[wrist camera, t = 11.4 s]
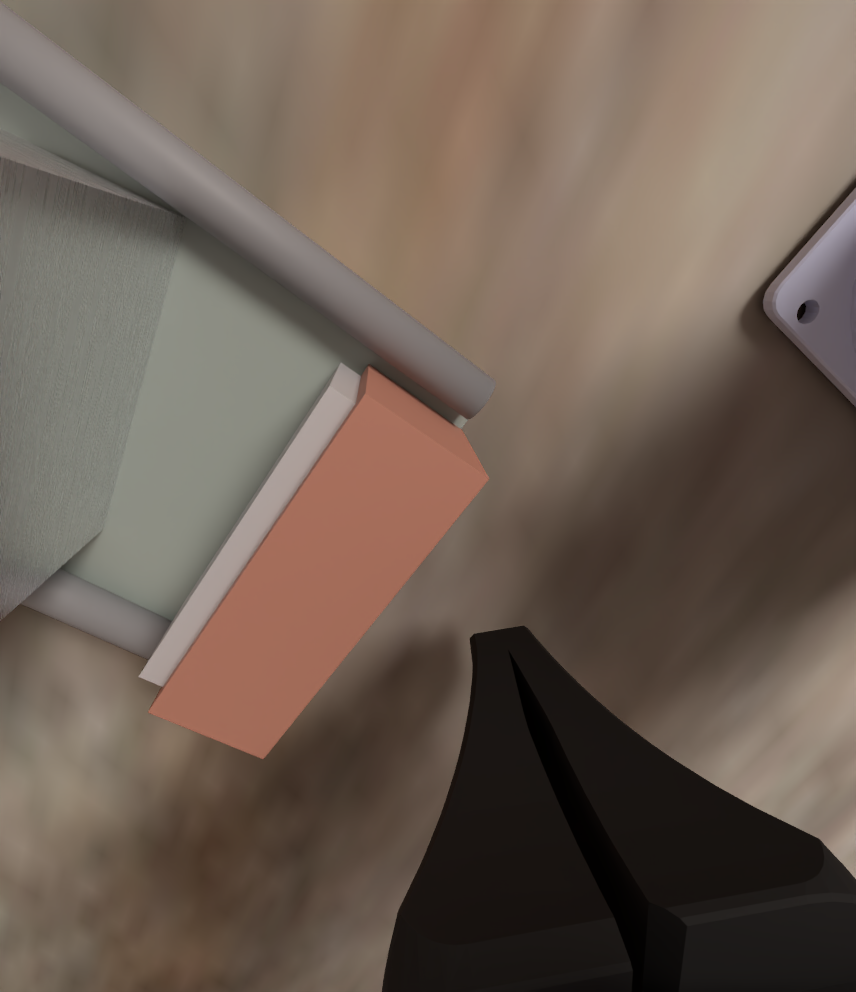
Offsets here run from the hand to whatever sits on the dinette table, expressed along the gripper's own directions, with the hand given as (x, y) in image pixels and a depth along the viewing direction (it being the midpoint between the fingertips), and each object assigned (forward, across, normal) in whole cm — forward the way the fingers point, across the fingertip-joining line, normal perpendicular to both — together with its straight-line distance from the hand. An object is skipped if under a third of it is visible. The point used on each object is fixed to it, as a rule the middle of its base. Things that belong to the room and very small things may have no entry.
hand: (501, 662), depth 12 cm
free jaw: (+1, +4, -4) cm, 6 cm away
